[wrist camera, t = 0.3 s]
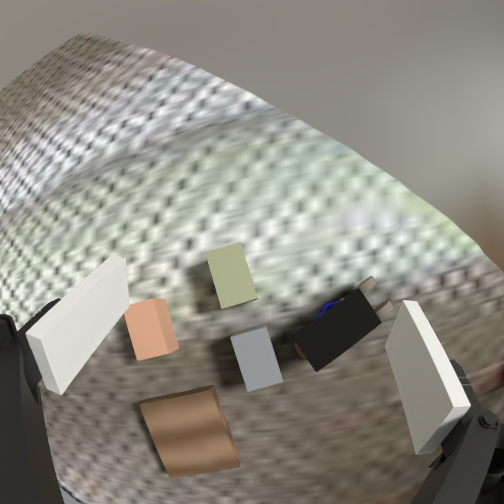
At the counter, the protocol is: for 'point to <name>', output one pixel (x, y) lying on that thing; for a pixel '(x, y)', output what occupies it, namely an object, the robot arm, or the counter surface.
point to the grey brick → (256, 358)
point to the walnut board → (191, 432)
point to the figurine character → (339, 326)
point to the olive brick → (231, 275)
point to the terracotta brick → (150, 329)
